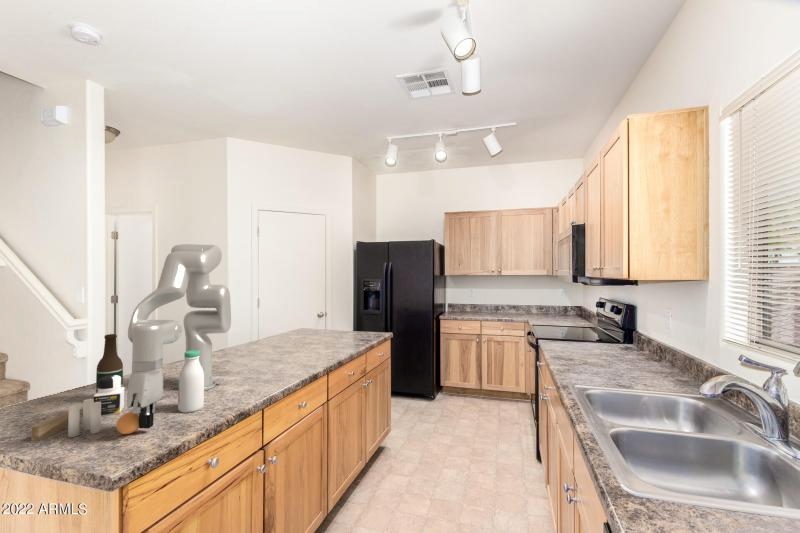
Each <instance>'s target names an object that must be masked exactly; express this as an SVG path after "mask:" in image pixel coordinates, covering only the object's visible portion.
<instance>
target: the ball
mask: <svg viewBox="0 0 800 533" xmlns="http://www.w3.org/2000/svg"><path fill="white" fill-rule="evenodd" d="M115 427H116V430H117V431H118V433H121V434H122V435H123V434H124V435H129V434H130V435H131V434H132V433H134V432H136V431H137V430H139V429H140V428H139V415H138V413H132V411H129V412H126V413H124V414H122V415H121V416H120V417H119V418H118V419H117V421H116V426H115Z"/></svg>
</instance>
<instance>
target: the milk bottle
mask: <svg viewBox="0 0 800 533" xmlns="http://www.w3.org/2000/svg"><path fill="white" fill-rule="evenodd" d="M199 355H200V352H199V351H196V350H193V351H187V352H186V351H185V352H184V364H183V366H182V368H181V370H180V372H179V376H178V394H177V395H178V396H177V397H178V400H177V401H178V402H177V404H178V405H177V406H178V408H177V409H178V412H180V413H194V412H197V411H200V410H202V409H203V408H204V404H205V390H204V372H203V369H202V367H201V365H200V362H199Z"/></svg>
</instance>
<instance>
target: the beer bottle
mask: <svg viewBox="0 0 800 533" xmlns="http://www.w3.org/2000/svg"><path fill="white" fill-rule="evenodd" d="M117 337H118V334H114V333H109V334H105V335H104V348H103V355H102V358H100V360H99V361H98V363H97V365H96V373H95V374H96V375H95V377H96V380H95V381H96V382H95V384H96V385H95V394H96V393H97V392H98V380H99V379H100V378H102V377H105V376H110V375H118V376H120V377H121V387H124V382H123V381H124V363H123V360H122V359H121V358H120V357H119V356H118V351H117V350H118V349H117Z"/></svg>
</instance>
